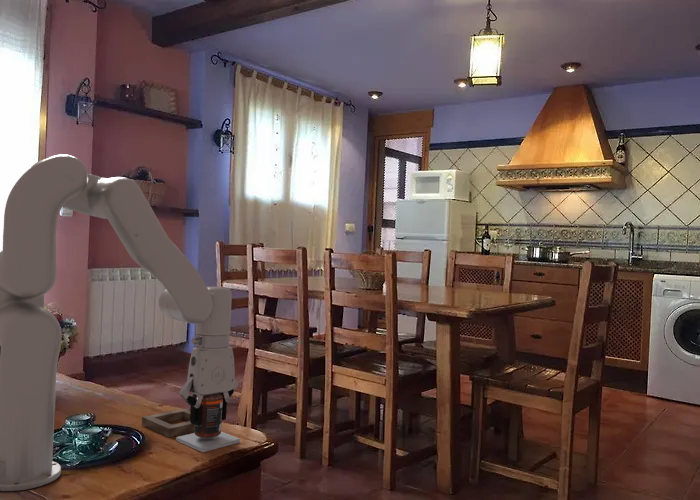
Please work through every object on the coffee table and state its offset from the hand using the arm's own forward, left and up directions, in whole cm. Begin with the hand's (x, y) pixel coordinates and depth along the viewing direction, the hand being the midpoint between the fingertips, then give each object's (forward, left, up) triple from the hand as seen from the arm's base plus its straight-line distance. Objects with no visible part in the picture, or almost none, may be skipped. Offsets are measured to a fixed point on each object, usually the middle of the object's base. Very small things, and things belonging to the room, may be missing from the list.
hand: (208, 420), depth 131 cm
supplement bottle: (0, 0, -3) cm, 3 cm away
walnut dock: (+1, +14, -5) cm, 15 cm away
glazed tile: (0, 0, -5) cm, 5 cm away
